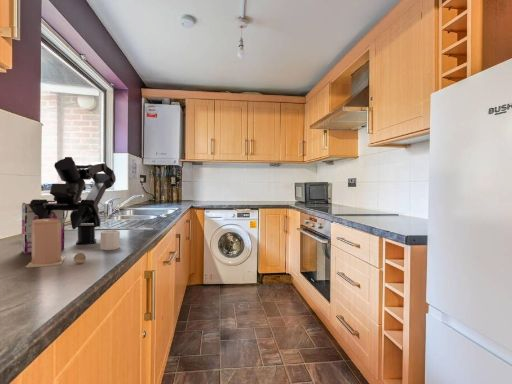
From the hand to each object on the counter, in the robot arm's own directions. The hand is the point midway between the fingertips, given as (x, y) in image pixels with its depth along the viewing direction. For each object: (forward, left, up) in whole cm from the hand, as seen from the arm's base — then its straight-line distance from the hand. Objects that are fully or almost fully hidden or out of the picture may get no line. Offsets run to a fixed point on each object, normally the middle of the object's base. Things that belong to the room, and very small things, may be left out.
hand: (56, 228), depth 88 cm
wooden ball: (+10, +7, -9) cm, 15 cm away
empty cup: (-8, +15, -9) cm, 19 cm away
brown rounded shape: (+5, -2, -9) cm, 10 cm away
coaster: (+5, -2, -9) cm, 11 cm away
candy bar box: (-13, -5, -9) cm, 16 cm away
